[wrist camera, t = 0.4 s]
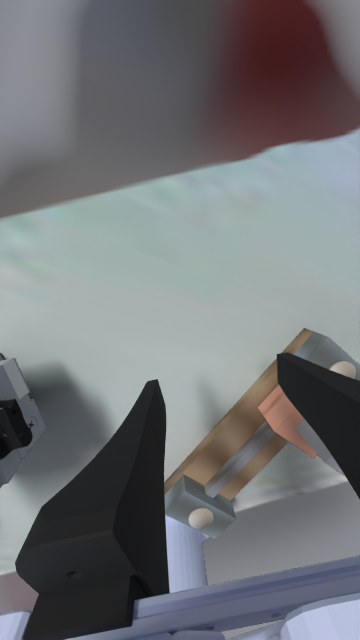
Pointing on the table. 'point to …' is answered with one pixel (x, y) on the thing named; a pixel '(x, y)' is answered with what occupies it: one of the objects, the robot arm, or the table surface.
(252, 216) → the table surface
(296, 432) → the carriage
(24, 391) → the circuit breaker
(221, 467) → the rail
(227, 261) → the table surface
